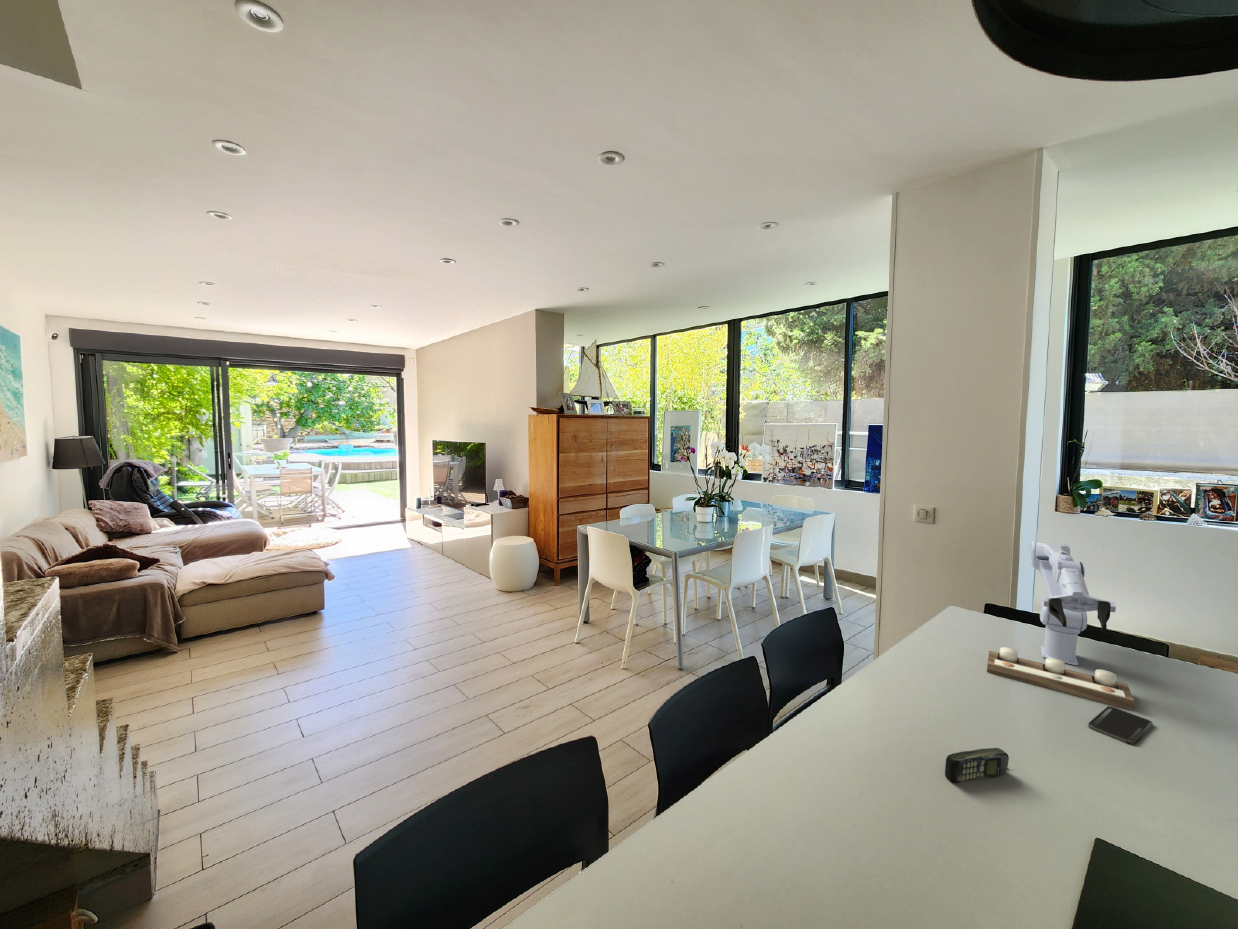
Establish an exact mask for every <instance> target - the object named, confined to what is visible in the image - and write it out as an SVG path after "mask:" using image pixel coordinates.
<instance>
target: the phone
mask: <svg viewBox="0 0 1238 929" xmlns="http://www.w3.org/2000/svg"><path fill="white" fill-rule="evenodd" d="M1087 727H1088V728H1089V729H1090V730H1092V731H1095V732H1097V733H1098V734H1099V733H1100V734H1101V735H1104V736H1107V737H1110V738H1112V739H1114V740H1117V741H1119V742H1122V743H1125V744H1127V745H1131V746H1135V745H1137V743H1138V742H1140V740H1142V738H1143V736H1145V735H1146V734H1147V732H1148V731H1149V730H1150V729H1152V727H1153V721H1151V720H1149V719H1147V718H1144V717H1142V716H1139V715H1136V714H1134V713H1131V712H1129V711H1125V710H1123V709H1120V708H1117V707H1115V706H1110V705H1109V706H1107V707H1105V708H1104V709H1103V710H1102V711H1101V712H1100V713H1099V714H1097V715H1095V717H1093V719H1091V721H1089V722H1088V726H1087Z"/></svg>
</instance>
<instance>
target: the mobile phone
mask: <svg viewBox="0 0 1238 929" xmlns="http://www.w3.org/2000/svg"><path fill="white" fill-rule="evenodd" d="M945 758H946V759H945V768H944V776H945V777H946V779H947V780H948V781H949V782H951V783H962V782H966V781H967V782H968V781H973V780H979V779H993V778H996V777H999V776H1001V775H1002V774H1004V773H1006V771H1007V770H1008V766H1009V761H1010V758H1009V754H1008V753H1007V752H1006V751H1004V750H1003V749H1001V748H1000V747H989V748H978V749H974V750H967V751H964V750H963V751H959V752H955V753H950V754H948V755H947V756H946V757H945Z"/></svg>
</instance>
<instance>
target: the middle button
mask: <svg viewBox="0 0 1238 929" xmlns="http://www.w3.org/2000/svg"><path fill="white" fill-rule="evenodd" d="M1044 664H1045V669H1046V670H1048V671H1050V672H1053V673H1058V674H1063V673H1064V670H1065V669H1066V663H1064V662H1063V661H1061V660H1058V659H1055V658H1045V663H1044Z"/></svg>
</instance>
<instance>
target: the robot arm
mask: <svg viewBox="0 0 1238 929" xmlns="http://www.w3.org/2000/svg"><path fill="white" fill-rule="evenodd" d="M1028 547H1029V548H1028V549H1029V550H1028V555H1029V561H1030V563H1031V565H1032V567H1033V568H1034V569H1035V570H1037V571H1038V573H1039V574H1040V577H1041V580H1042V584H1043V587H1044V590H1045V592H1046V593H1045V594H1046V596H1042V601H1040V605H1039V619H1040V622H1041V623H1042V625H1044V626H1045V632H1044V641H1043V645H1040V651H1041V652H1040V653H1041V657H1042V658H1043V659H1046V658H1055V659H1058V660H1061V661H1063V662H1064V663H1065V664H1069V665H1073V666H1078V665H1079V662H1078V659H1077V655H1076V654H1077V644H1078V634H1081V632H1083V631H1084V630H1086V629H1087V627H1088V615H1087V614H1088V613H1087V612H1094V611H1097V619H1098V621H1099V623H1100V628H1101V631H1103V632H1107V629H1108V627H1107V626H1108V621H1109V620H1110V618H1111V613H1116V610H1117V607H1116V604H1115V601H1109V600H1104V599H1101V598H1097V597H1094V596H1090V593H1089V591H1088V588H1087V585H1086V582H1085V574H1086V573H1085V572H1086V570H1085V569H1086V568H1085V565H1084V562H1083V561H1075V560H1074V558H1073V557H1072V556H1071V548H1070V546H1069V545H1068V544H1061V543H1052V542H1044V541H1043V542H1042V541H1035V540H1032V541H1031V542H1030V543H1029V546H1028Z"/></svg>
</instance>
